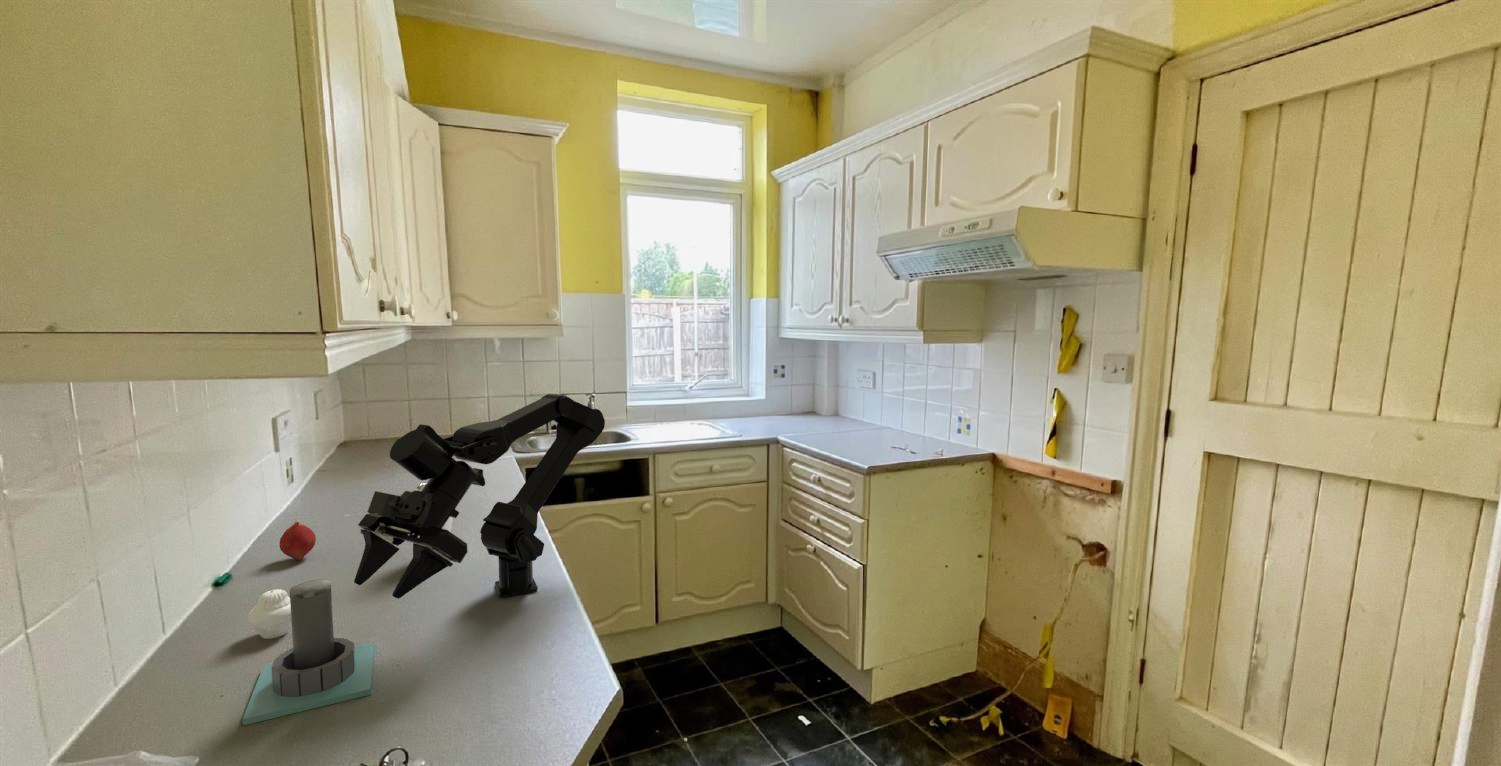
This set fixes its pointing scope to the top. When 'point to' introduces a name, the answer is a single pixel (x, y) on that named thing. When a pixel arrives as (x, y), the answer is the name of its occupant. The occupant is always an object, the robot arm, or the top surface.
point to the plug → (312, 624)
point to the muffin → (271, 614)
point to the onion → (297, 541)
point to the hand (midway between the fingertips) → (375, 590)
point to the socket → (311, 682)
